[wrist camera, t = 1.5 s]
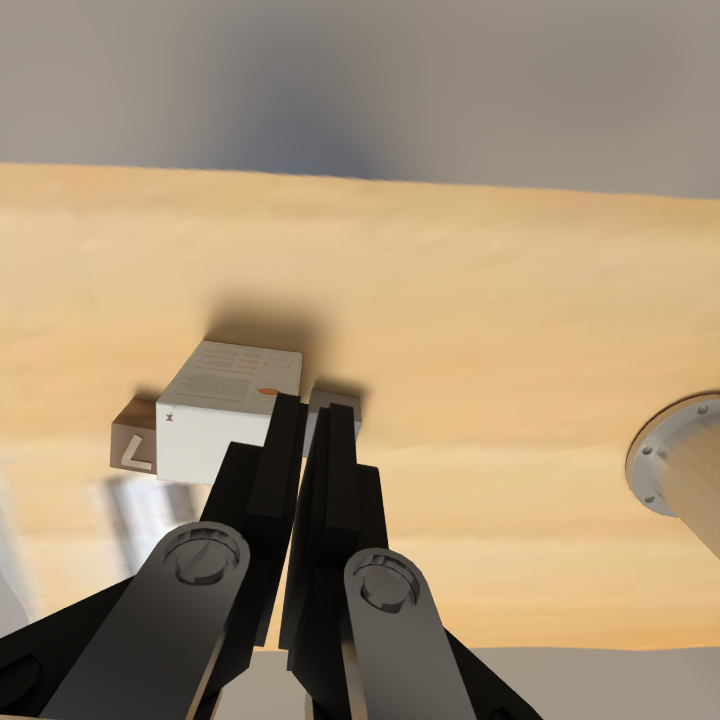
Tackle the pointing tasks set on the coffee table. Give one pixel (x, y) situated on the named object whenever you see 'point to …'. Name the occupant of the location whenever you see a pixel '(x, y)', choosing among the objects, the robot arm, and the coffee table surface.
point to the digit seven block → (135, 438)
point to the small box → (219, 406)
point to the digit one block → (323, 400)
